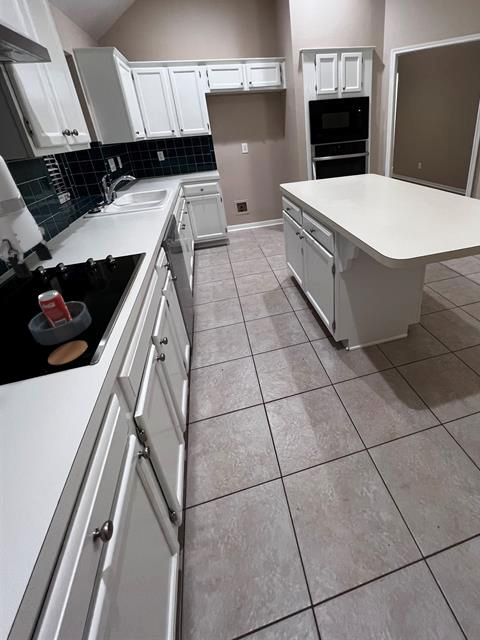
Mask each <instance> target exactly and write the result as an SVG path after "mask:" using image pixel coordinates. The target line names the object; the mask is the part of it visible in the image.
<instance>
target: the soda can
mask: <svg viewBox="0 0 480 640" xmlns="http://www.w3.org/2000/svg"><path fill="white" fill-rule="evenodd" d="M65 303H66V302H65V301H64V298H63V297H62V295H61V294H60V293H59V291H58V290H57V289H56V290H55V289H54V290H53V289H52V290H47V291H46V292H43V293H41V294H40V295H38V304H39V307H40V308H41V310H42V312H44V314H45V316H46V318H47V320H48V321H49V323H50V325H51V327H52V328H55V327H58V326H61V325H63V324H65V323H67V322H69V321H71V320H72V318H71V316H70V313H69V311H68V309H67V307H66V305H65Z"/></svg>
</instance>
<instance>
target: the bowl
mask: <svg viewBox="0 0 480 640" xmlns="http://www.w3.org/2000/svg"><path fill="white" fill-rule="evenodd" d="M64 303H65V305H66V307H67V309H68V311H69V313H70V316H71V318H72V320H71V321H69V322H67V323H65V324H63V325H61V326H58V327H55V328H52V327H51V325H50V323H49V321H48V320H47V318H46V316H45V314H44V312H43V311H41V312H40V313H37V314H36V315H35V316H34V317H32V319H31V320H30V321H29V323H28V325H27V326H28V330H29V331H30V333H31V336H33V339H34V340H35V342H36V344H39V345H40V346H53V345H58V344H61V343H64V342H67V341H69V340H72V339H74V338H76V337H77V336H79V335H80V334H82V333H83V332H84V331H86V330H87V329H88V328H89V326H90V325H91V324H92V320H93V319H92V317H91V314H90V313H89V309H88V307H87V305H86V304H85V302H82V301H67V302H64Z"/></svg>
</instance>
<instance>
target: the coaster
mask: <svg viewBox="0 0 480 640" xmlns="http://www.w3.org/2000/svg"><path fill="white" fill-rule="evenodd" d="M87 349H88V343H87V342H86V341H85V340H73V341H70V342H67V343H64V344H62V345H60V346H59V347H57V348H55V349H54V350H53V351H52V352H51V353H50V354H49V356H48V358H47V363H48V364H49V365H52V366H62V365H65V364H68V363H70V362H71V363H72V361H74V360H76V359H77V358H79V357H81V356H82V355H83V354H84V353H85V352H86V350H87Z"/></svg>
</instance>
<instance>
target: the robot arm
mask: <svg viewBox="0 0 480 640" xmlns="http://www.w3.org/2000/svg"><path fill="white" fill-rule="evenodd" d="M31 249H33V250H34V252H35V254H36V256H37V258H38V260H39V261H40V262H45V261H51V260H52V259H53V255H52V253H51V252H50V249H49V247H48V242H47V235H46V233H45V228H44V227H43V226H38V224H37V222H36V220H35V218H34V216H33V215H32V214H31V212H30V211H29V209H28V207H27V206H26V203H25V201H24V199H23V197H22V195H21V193H20V190H19V189H18V187H17V184H16V182H15V181H14V179H13V177H12V174H11V172H10V170H9V168H8V165H7V163H6V162H5V160H4V157H2V156H1V155H0V260H2V262H3V263H4V264H5V263H6V264H7V265H8V266H11V268H12V270H13V271H14V273H15V275H16V277H17V278H18V279H24V278H31V277H33V273H32V271H31V269H30V268H29V267H30V266H29V265H28V263H27V262H26V261H24V254H25V253H26V252H28V251H30V250H31ZM15 256H16V257H15Z"/></svg>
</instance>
